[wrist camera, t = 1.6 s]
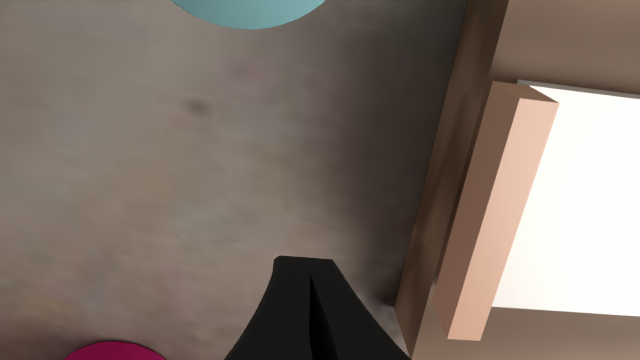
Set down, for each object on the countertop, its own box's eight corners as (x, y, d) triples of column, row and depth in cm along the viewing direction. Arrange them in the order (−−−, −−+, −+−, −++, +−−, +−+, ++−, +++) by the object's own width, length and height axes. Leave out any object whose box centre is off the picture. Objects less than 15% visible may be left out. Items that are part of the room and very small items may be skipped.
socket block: (689, 327, 27) (743, 377, 24) (394, 308, 25) (411, 360, 22) (858, 11, 21) (963, 24, 18) (480, -48, 19) (521, -46, 16)
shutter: (637, 304, 22) (685, 352, 19) (426, 289, 20) (447, 338, 18) (732, 106, 18) (806, 132, 16) (483, 74, 17) (519, 98, 14)
